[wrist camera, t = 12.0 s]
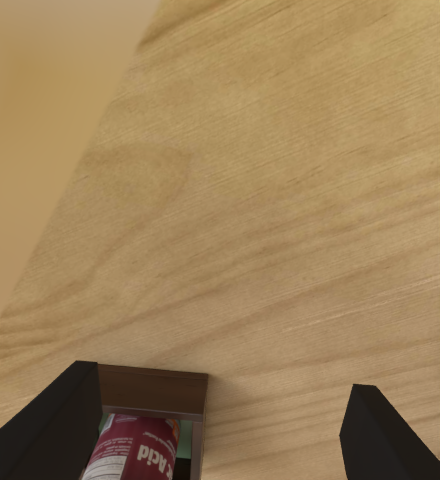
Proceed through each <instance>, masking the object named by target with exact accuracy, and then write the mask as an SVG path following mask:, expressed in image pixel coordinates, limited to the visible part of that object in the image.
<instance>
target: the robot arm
mask: <svg viewBox="0 0 440 480" xmlns="http://www.w3.org/2000/svg"><path fill="white" fill-rule="evenodd" d="M102 416H103V409H102V400H101V391H100V381H99V372H98V363H97V362H89V361H77V360H76V361H75V362H74V363H73V364H71V365H70V366H69V367H68V368H67V369H66V370H65V371H64V372H63V373H62V374H61V375H59V376H58V377H57V378H56V379H55V380H54V381H53V382H52V383H51V384H50V385H49V386H48V387H46V388H45V389H44V390H43V391H42V392H41V393H40V394H39V395H38V396H37V397H36V398H34V399H33V400H32V401H31V402H30V403H29V404H28V405H27V406H25V407H24V408H23V409H22V410H21V411H20V412H19V413H17V414H16V415H15V416H14V417H13V418H12V419H11V420H10V421H8V422H7V423H6V424H5V425H4V426H3V427H1V428H0V480H79V478H80V476H81V473H82V471H83V469H84V467H85V464H86V462H87V460H88V457H89V455H90V453H91V450H92V447H93V444H94V441H95V438H96V435H97V432H98V429H99V426H100V422H101V419H102ZM339 436H340V442H341V448H342V454H343V459H344V465H345V470H346V475H347V479H348V480H440V461H439V460H438V459H437V458H436V456H435V455H434V454H433V453H432V452H431V451H430V450H429V448H428V447H427V446H426V445H425V444H424V443H423V442H422V440H421V439H420V438H419V437H418V436H417V435H416V433H415V432H414V431H413V430H412V429H411V427H410V426H409V425H408V424H407V423H406V422H405V420H404V419H403V418H402V417H401V416H400V414H399V413H398V412H397V411H396V410H395V408H394V407H393V406H392V405H391V404H390V402H389V401H388V400H387V399H386V398H385V396H384V395H383V394H382V393H381V392H380V390H379V389H378V388H377V387H376V386H373V385H362V384H353V387H352V390H351V394H350V398H349V401H348V405H347V409H346V412H345V416H344V420H343V423H342V427H341V431H340V434H339Z"/></svg>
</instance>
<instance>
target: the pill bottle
mask: <svg viewBox="0 0 440 480" xmlns="http://www.w3.org/2000/svg"><path fill="white" fill-rule="evenodd" d="M179 436H180V423H179V420H176V419H165V418H155V417H144V416H133V415H123V414H112V413H109V415H108V418H107V420H106V422H105V425H104V427H103V430H102V432H101V434H100V437H99V439H98V442H97V444H96V446H95V449H94V451H93V454H92V456H91V459H90V461H89V463H88V465H87V468H86V471H85V473H84V475H83V478H82V480H172V475H173V469H174V464H175V459H176V453H177V447H178V442H179Z"/></svg>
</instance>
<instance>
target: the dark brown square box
mask: <svg viewBox="0 0 440 480" xmlns="http://www.w3.org/2000/svg"><path fill="white" fill-rule="evenodd" d="M98 372H99V381H100V391H101V400H102V409H103V416H102V419H101V422H100V426H99V429H98V432H97V435H96V438H95V441H94V444H93V447H92V450H91V453H90V455H89V457H88V460H87V462H86V464H85V467H84V469H83V471H82V473H81V476H80V478H79V480H82V478H83V475H84V473H85V471H86V468H87V465H88V463H89V461H90V459H91V456H92V454H93V451H94V449H95V446H96V444H97V442H98V439H99V437H100V434H101V432H102V430H103V427H104V425H105V422H106V420H107V418H108V415H109V413H112V414H123V415H133V416H144V417H155V418H165V419H176V420H179V423H180V436H179V442H178V447H177V453H176V459H175V464H174V469H173V475H172V480H201V472H202V462H203V451H204V435H205V419H206V403H207V387H208V374H198V373H187V372H176V371H165V370H154V369H143V368H132V367H121V366H110V365H99V364H98Z"/></svg>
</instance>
